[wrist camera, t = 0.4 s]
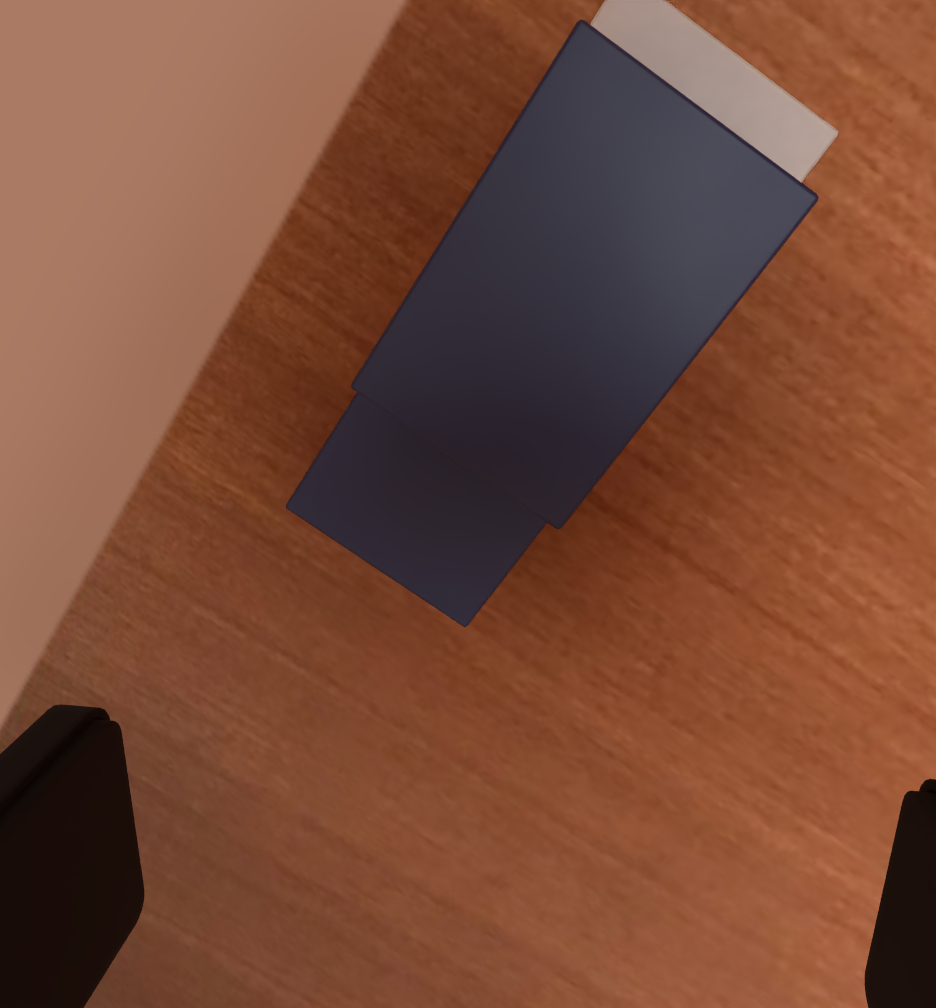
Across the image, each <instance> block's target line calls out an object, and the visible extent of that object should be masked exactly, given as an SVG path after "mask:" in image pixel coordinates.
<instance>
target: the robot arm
mask: <svg viewBox="0 0 936 1008" xmlns="http://www.w3.org/2000/svg"><path fill="white" fill-rule="evenodd" d="M143 902H144V885H143V878H142V871H141V864H140V857H139V850H138V843H137V836H136V829H135V822H134V815H133V808H132V801H131V794H130V787H129V780H128V773H127V766H126V759H125V753H124V746H123V739H122V732H121V728H120V726H119V724H118V723H117V722H115V721H110V718H109V715H108V713H107V712H106V711H105V710H104V709H102V708H96V707H84V706H73V705H54V706H53V707H51V708H50V709H49V710H47V711H46V712H45V713H44V714H43V715H42V716H41V717H40V718H39V719H38V720H37V721H36V722H34V723H33V724H32V725H31V726H30V727H29V728H28V729H27V730H26V731H25V732H24V733H23V734H22V735H20V736H19V737H18V738H17V739H16V740H15V741H14V742H13V743H12V744H11V745H10V746H9V747H8V748H7V749H5V750H4V751H3V752H2V753H1V754H0V1008H84V1006H85V1005H86V1003H87V1001H88V1000H89V998H90V997H91V995H92V993H93V992H94V990H95V989H96V987H97V985H98V984H99V982H100V981H101V979H102V977H103V976H104V974H105V973H106V971H107V969H108V968H109V966H110V965H111V963H112V961H113V960H114V958H115V957H116V955H117V953H118V952H119V950H120V949H121V947H122V945H123V944H124V942H125V941H126V939H127V937H128V936H129V934H130V933H131V931H132V929H133V928H134V926H135V925H136V923H137V921H138V919H139V916H140V913H141V911H142V907H143ZM865 992H866V998H867V1003H868V1007H869V1008H936V780H935V779H929V780H926V781H924V783H923V784H922V785H921V787H920V790H919V791H909V792H907V793H906V795H905V796H904V799H903V802H902V806H901V811H900V815H899V820H898V825H897V829H896V834H895V838H894V843H893V847H892V852H891V856H890V861H889V865H888V870H887V875H886V879H885V884H884V888H883V893H882V897H881V902H880V906H879V911H878V915H877V920H876V925H875V929H874V934H873V938H872V943H871V947H870V952H869V956H868V961H867V965H866V971H865Z"/></svg>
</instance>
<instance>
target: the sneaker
mask: <svg viewBox="0 0 936 1008" xmlns="http://www.w3.org/2000/svg"><path fill="white" fill-rule="evenodd" d="M838 134H839V132H838V130H837V129H835V128H834V127H833V126H832V125H830V124H829V123H828V122H826V121H825V120H824V119H822V118H821V117H820V116H818V115H817V114H816V113H814V112H813V111H812V110H810V109H809V108H808V107H806V106H805V105H804V104H802V103H801V102H800V101H798V100H797V99H796V98H795V97H793V96H792V95H791V94H789V93H788V92H787V91H785V90H784V89H783V88H781V87H780V86H779V85H777V84H776V83H775V82H773V81H772V80H771V79H769V78H768V77H767V76H765V75H764V74H763V73H762V72H760V71H759V70H758V69H756V68H755V67H754V66H752V65H751V64H750V63H748V62H747V61H746V60H744V59H743V58H742V57H740V56H739V55H738V54H736V53H735V52H734V51H732V50H731V49H730V48H728V47H727V46H726V45H725V44H723V43H722V42H721V41H719V40H718V39H717V38H715V37H714V36H713V35H711V34H710V33H709V32H707V31H706V30H705V29H703V28H702V27H701V26H699V25H698V24H697V23H695V22H694V21H693V20H692V19H690V18H689V17H688V16H686V15H685V14H684V13H682V12H681V11H680V10H678V9H677V8H676V7H674V6H673V5H672V4H670V3H669V2H668V1H666V0H605V1H604V2H603V4H602V5H601V7H600V9H599V10H598V12H597V13H596V15H595V16H594V18H593V20H592V21H591V23H590V24H589V23H587V22H586V21H585V20H579V21H578V22H577V23H576V25H575V27H574V28H573V30H572V32H571V33H570V35H569V36H568V38H567V40H566V41H565V43H564V44H563V46H562V48H561V49H560V51H559V52H558V54H557V56H556V57H555V59H554V60H553V62H552V64H551V65H550V67H549V68H548V70H547V72H546V73H545V75H544V76H543V78H542V80H541V81H540V83H539V84H538V86H537V88H536V89H535V91H534V92H533V94H532V96H531V97H530V99H529V100H528V102H527V104H526V105H525V107H524V108H523V110H522V112H521V113H520V115H519V116H518V118H517V120H516V121H515V123H514V124H513V126H512V128H511V129H510V131H509V132H508V134H507V136H506V137H505V139H504V140H503V142H502V144H501V145H500V147H499V148H498V150H497V152H496V153H495V155H494V156H493V158H492V160H491V161H490V163H489V164H488V166H487V168H486V169H485V171H484V172H483V174H482V176H481V177H480V179H479V180H478V182H477V184H476V185H475V187H474V188H473V190H472V192H471V193H470V195H469V196H468V198H467V200H466V201H465V203H464V204H463V206H462V208H461V209H460V211H459V212H458V214H457V216H456V217H455V219H454V220H453V222H452V224H451V225H450V227H449V228H448V230H447V232H446V233H445V235H444V236H443V238H442V240H441V241H440V243H439V244H438V246H437V248H436V249H435V251H434V252H433V254H432V256H431V257H430V259H429V260H428V262H427V264H426V265H425V267H424V268H423V270H422V272H421V273H420V275H419V276H418V278H417V280H416V281H415V283H414V284H413V286H412V288H411V289H410V291H409V292H408V294H407V296H406V297H405V299H404V300H403V302H402V304H401V305H400V307H399V308H398V310H397V312H396V313H395V315H394V316H393V318H392V320H391V321H390V323H389V324H388V326H387V328H386V329H385V331H384V332H383V334H382V336H381V337H380V339H379V340H378V342H377V344H376V345H375V347H374V348H373V350H372V352H371V353H370V355H369V356H368V358H367V360H366V361H365V363H364V364H363V366H362V368H361V369H360V371H359V372H358V374H357V376H356V377H355V379H354V380H353V382H352V384H351V387H352V389H353V390H355V391H356V392H357V393H356V395H355V396H354V398H353V399H352V401H351V403H350V404H349V406H348V407H347V409H346V411H345V412H344V414H343V415H342V417H341V418H340V420H339V422H338V423H337V425H336V426H335V428H334V430H333V431H332V433H331V434H330V436H329V438H328V439H327V441H326V442H325V444H324V445H323V447H322V449H321V450H320V452H319V453H318V455H317V457H316V458H315V460H314V461H313V463H312V465H311V466H310V468H309V469H308V471H307V472H306V474H305V476H304V477H303V479H302V480H301V482H300V484H299V485H298V487H297V488H296V490H295V491H294V493H293V495H292V496H291V498H290V499H289V501H288V503H287V504H286V508H287V509H288V510H290V511H291V512H293V513H294V514H296V515H297V516H299V517H300V518H302V519H303V520H305V521H306V522H308V523H309V524H311V525H312V526H314V527H315V528H317V529H318V530H320V531H321V532H323V533H324V534H326V535H327V536H329V537H330V538H332V539H333V540H335V541H336V542H338V543H339V544H341V545H342V546H344V547H345V548H347V549H348V550H350V551H351V552H353V553H354V554H356V555H357V556H359V557H360V558H362V559H363V560H365V561H366V562H368V563H369V564H371V565H372V566H374V567H375V568H377V569H378V570H380V571H381V572H383V573H384V574H386V575H387V576H389V577H390V578H392V579H393V580H395V581H396V582H398V583H399V584H401V585H402V586H404V587H405V588H407V589H408V590H410V591H411V592H413V593H414V594H416V595H417V596H419V597H420V598H422V599H423V600H425V601H426V602H428V603H429V604H431V605H432V606H434V607H435V608H437V609H438V610H440V611H441V612H443V613H444V614H446V615H447V616H449V617H450V618H452V619H453V620H455V621H456V622H458V623H459V624H461V625H462V626H464V627H466V626H468V625H469V623H470V622H471V621H472V619H473V618H474V617H475V615H476V614H477V613H478V612H479V610H480V609H481V608H482V606H483V605H484V604H485V603H486V601H487V600H488V599H489V597H490V596H491V595H492V593H493V592H494V591H495V590H496V588H497V587H498V586H499V584H500V583H501V582H502V580H503V579H504V578H505V577H506V575H507V574H508V573H509V571H510V570H511V569H512V568H513V566H514V565H515V564H516V562H517V561H518V560H519V558H520V557H521V556H522V555H523V553H524V552H525V551H526V549H527V548H528V547H529V546H530V544H531V543H532V542H533V540H534V539H535V538H536V536H537V535H538V534H539V533H540V531H541V530H542V529H543V527H544V526H545V525H546V524H547V523H549V524H550V525H551V526H553V527H554V528H556V529H561V528H562V527H563V526H564V525H565V523H566V522H567V521H568V519H569V518H570V517H571V516H572V514H573V513H574V512H575V510H576V509H577V508H578V507H579V505H580V504H581V503H582V502H583V500H584V499H585V498H586V496H587V495H588V494H589V493H590V491H591V490H592V489H593V487H594V486H595V485H596V484H597V482H598V481H599V480H600V479H601V477H602V476H603V475H604V473H605V472H606V471H607V470H608V468H609V467H610V466H611V464H612V463H613V462H614V461H615V459H616V458H617V457H618V455H619V454H620V453H621V452H622V450H623V449H624V448H625V447H626V445H627V444H628V443H629V441H630V440H631V439H632V438H633V436H634V435H635V434H636V432H637V431H638V430H639V429H640V427H641V426H642V425H643V424H644V422H645V421H646V420H647V418H648V417H649V416H650V415H651V413H652V412H653V411H654V409H655V408H656V407H657V406H658V404H659V403H660V402H661V401H662V399H663V398H664V397H665V395H666V394H667V393H668V392H669V390H670V389H671V388H672V386H673V385H674V384H675V383H676V381H677V380H678V379H679V377H680V376H681V375H682V374H683V372H684V371H685V370H686V369H687V367H688V366H689V365H690V363H691V362H692V361H693V360H694V358H695V357H696V356H697V354H698V353H699V352H700V351H701V349H702V348H703V347H704V346H705V344H706V343H707V342H708V340H709V339H710V338H711V337H712V335H713V334H714V333H715V331H716V330H717V329H718V328H719V326H720V325H721V324H722V323H723V321H724V320H725V319H726V317H727V316H728V315H729V314H730V312H731V311H732V310H733V308H734V307H735V306H736V305H737V303H738V302H739V301H740V299H741V298H742V297H743V296H744V294H745V293H746V292H747V291H748V289H749V288H750V287H751V285H752V284H753V283H754V282H755V280H756V279H757V278H758V276H759V275H760V274H761V273H762V271H763V270H764V269H765V268H766V266H767V265H768V264H769V262H770V261H771V260H772V259H773V257H774V256H775V255H776V253H777V252H778V251H779V250H780V248H781V247H782V246H783V245H784V243H785V242H786V241H787V239H788V238H789V237H790V236H791V234H792V233H793V232H794V230H795V229H796V228H797V227H798V225H799V224H800V223H801V221H802V220H803V219H804V218H805V216H806V215H807V214H808V213H809V211H810V210H811V209H812V207H813V206H814V205H815V204H816V202H817V201H818V198H819V197H818V195H817V194H816V193H815V192H813V191H812V190H811V189H809V188H808V187H807V186H805V185H804V184H803V183H802V182H803V180H804V179H805V178H806V176H807V175H808V174H809V172H810V171H811V170H812V169H813V167H814V166H815V165H816V163H817V162H818V161H819V159H820V158H821V157H822V155H823V154H824V153H825V152H826V150H827V149H828V148H829V146H830V145H831V144H832V142H833V141H834V140H835V139H836V137H837V136H838Z"/></svg>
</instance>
